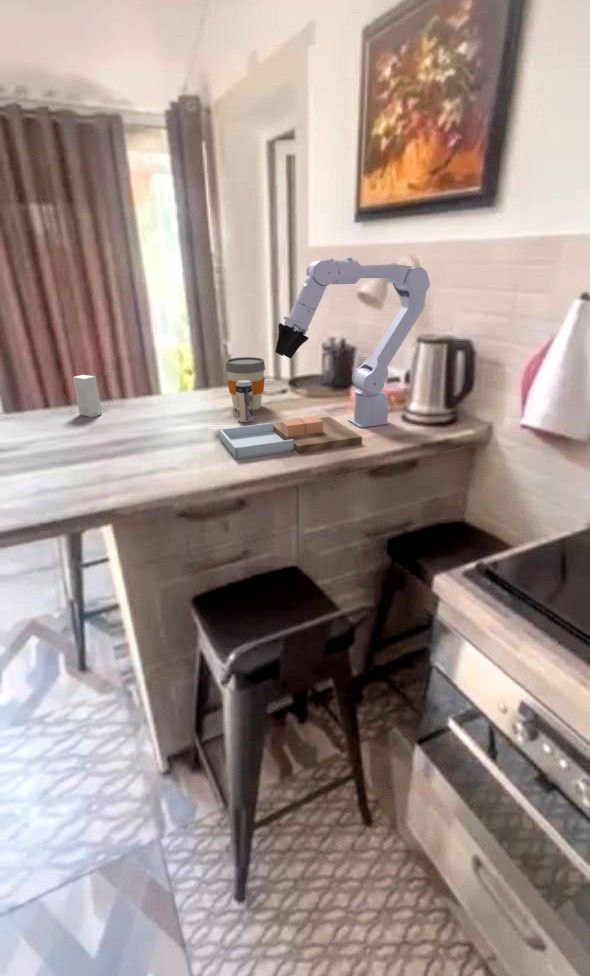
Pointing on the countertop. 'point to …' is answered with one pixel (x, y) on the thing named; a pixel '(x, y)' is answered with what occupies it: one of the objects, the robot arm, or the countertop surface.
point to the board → (322, 437)
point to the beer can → (244, 400)
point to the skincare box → (87, 395)
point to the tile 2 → (312, 425)
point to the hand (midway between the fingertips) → (283, 355)
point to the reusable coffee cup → (246, 377)
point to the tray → (254, 441)
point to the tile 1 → (293, 427)
